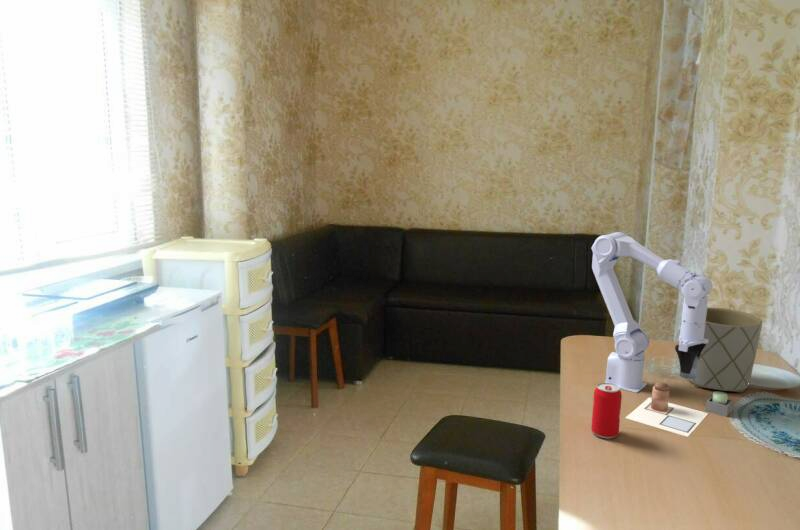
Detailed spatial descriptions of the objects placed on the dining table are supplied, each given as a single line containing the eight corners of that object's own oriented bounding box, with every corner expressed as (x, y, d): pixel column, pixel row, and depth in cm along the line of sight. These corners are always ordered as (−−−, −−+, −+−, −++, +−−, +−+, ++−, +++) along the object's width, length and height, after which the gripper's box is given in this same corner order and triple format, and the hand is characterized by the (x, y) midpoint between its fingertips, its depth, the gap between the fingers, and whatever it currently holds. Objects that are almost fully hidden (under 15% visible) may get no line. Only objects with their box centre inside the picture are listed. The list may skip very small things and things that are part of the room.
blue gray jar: (677, 376, 166) (679, 353, 164) (682, 372, 168) (684, 349, 167) (693, 380, 163) (696, 356, 162) (697, 375, 166) (700, 352, 165)
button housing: (705, 411, 161) (706, 400, 161) (710, 405, 165) (711, 395, 164) (726, 417, 158) (727, 406, 158) (731, 411, 162) (732, 400, 161)
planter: (759, 399, 169) (769, 329, 165) (683, 390, 175) (690, 321, 171) (746, 375, 187) (754, 310, 183) (677, 366, 193) (683, 304, 189)
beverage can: (618, 430, 151) (622, 383, 148) (618, 442, 145) (622, 393, 142) (591, 426, 153) (595, 380, 150) (590, 437, 147) (594, 389, 144)
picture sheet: (625, 418, 157) (625, 417, 157) (649, 397, 170) (649, 397, 170) (687, 437, 147) (687, 436, 147) (708, 414, 160) (708, 413, 160)
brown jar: (648, 408, 162) (650, 385, 161) (654, 403, 165) (656, 380, 164) (664, 413, 160) (666, 389, 158) (669, 408, 163) (672, 384, 161)
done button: (710, 405, 161) (711, 394, 160) (713, 401, 164) (715, 390, 163) (724, 409, 159) (725, 398, 158) (728, 404, 161) (729, 393, 161)
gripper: (701, 330, 155) (696, 382, 157) (717, 318, 166) (711, 366, 168) (672, 325, 159) (667, 375, 162) (689, 313, 170) (684, 360, 173)
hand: (688, 370), depth 165 cm, fingers closed on blue gray jar, 4 cm apart
